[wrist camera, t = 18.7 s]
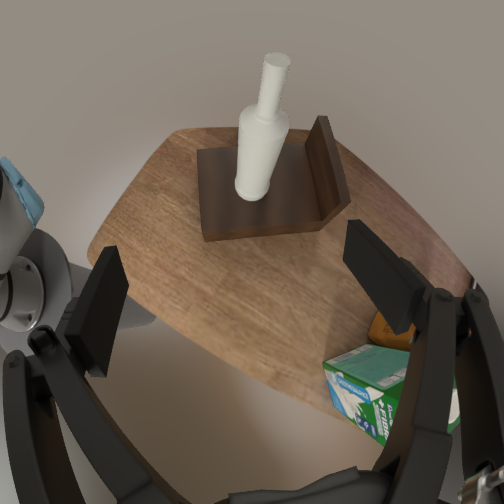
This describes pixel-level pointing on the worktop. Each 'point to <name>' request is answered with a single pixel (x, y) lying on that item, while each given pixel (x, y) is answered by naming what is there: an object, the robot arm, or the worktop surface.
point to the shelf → (274, 190)
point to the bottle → (262, 131)
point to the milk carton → (373, 388)
